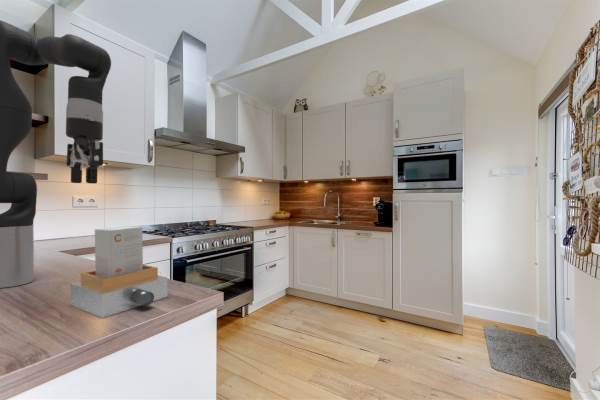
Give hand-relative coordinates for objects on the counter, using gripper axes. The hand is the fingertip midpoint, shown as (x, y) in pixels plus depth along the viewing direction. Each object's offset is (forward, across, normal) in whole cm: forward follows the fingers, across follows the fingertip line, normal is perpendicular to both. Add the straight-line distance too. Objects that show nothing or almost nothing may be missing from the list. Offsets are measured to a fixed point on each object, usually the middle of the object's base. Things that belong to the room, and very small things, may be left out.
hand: (83, 183), depth 73 cm
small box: (+24, +12, +3) cm, 27 cm away
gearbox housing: (+29, +15, +4) cm, 32 cm away
